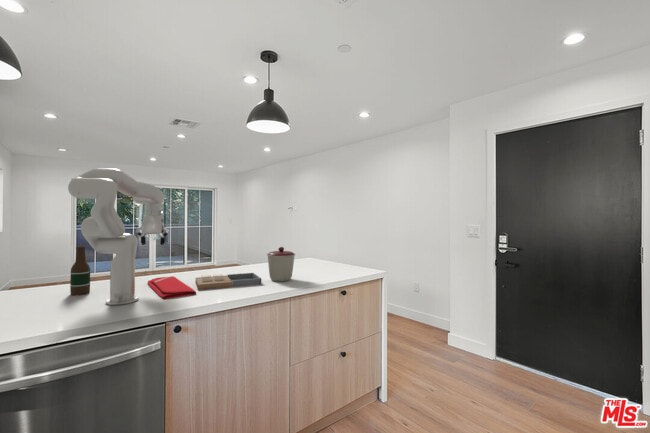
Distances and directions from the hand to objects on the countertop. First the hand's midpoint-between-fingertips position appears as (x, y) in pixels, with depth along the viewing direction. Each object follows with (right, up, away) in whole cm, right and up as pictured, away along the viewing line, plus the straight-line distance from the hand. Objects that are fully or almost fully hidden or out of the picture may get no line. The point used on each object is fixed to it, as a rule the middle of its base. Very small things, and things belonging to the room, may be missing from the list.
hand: (152, 244), depth 167 cm
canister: (+67, -25, +25) cm, 76 cm away
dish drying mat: (+10, -25, -2) cm, 27 cm away
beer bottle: (-29, -24, -14) cm, 40 cm away
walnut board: (+30, -24, +9) cm, 40 cm away
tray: (+45, -25, +17) cm, 54 cm away
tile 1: (+26, -21, +7) cm, 35 cm away
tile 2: (+32, -21, +10) cm, 40 cm away
